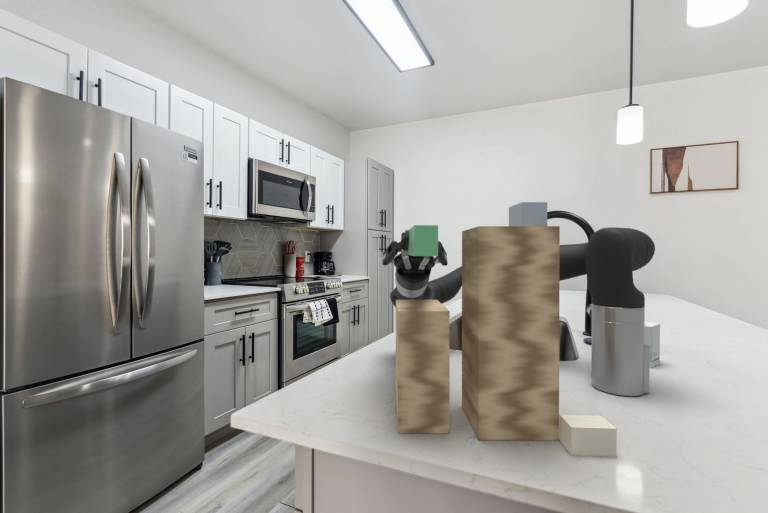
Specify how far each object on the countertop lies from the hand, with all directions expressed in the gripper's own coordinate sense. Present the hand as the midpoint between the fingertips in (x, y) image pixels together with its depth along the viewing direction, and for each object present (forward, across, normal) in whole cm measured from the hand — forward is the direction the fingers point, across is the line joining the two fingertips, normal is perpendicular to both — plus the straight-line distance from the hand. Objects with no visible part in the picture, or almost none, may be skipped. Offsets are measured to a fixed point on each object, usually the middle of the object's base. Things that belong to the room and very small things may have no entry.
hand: (418, 234), depth 65 cm
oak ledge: (-13, 0, -29) cm, 32 cm away
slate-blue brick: (+5, -18, -2) cm, 18 cm away
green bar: (0, 0, -5) cm, 5 cm away
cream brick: (-4, -23, -34) cm, 41 cm away
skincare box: (-40, -58, -14) cm, 72 cm away
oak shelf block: (-11, -14, -30) cm, 35 cm away
